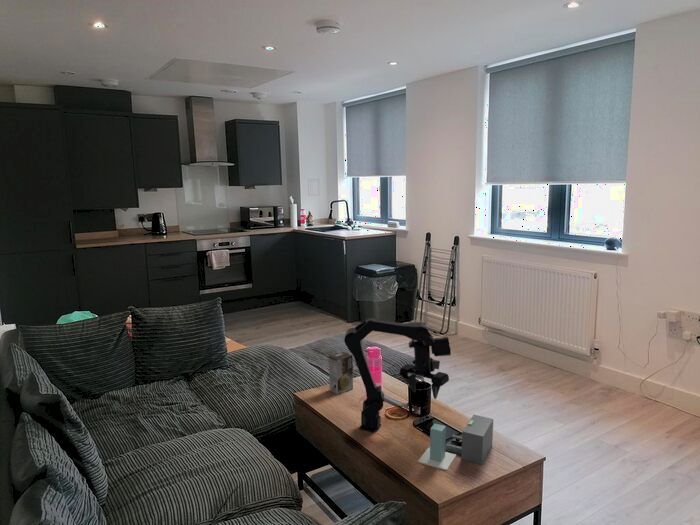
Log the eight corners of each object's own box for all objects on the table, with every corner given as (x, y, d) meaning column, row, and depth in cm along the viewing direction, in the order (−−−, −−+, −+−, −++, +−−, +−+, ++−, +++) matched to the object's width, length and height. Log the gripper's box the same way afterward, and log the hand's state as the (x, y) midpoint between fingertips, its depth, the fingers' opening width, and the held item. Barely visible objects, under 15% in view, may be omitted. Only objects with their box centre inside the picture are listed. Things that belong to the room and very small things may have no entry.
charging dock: (442, 454, 170) (443, 425, 169) (455, 436, 182) (456, 409, 181) (482, 464, 164) (483, 435, 162) (492, 445, 176) (493, 417, 174)
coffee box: (344, 384, 230) (344, 351, 227) (353, 389, 225) (353, 355, 222) (328, 390, 224) (328, 355, 221) (337, 394, 219) (337, 359, 216)
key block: (429, 459, 166) (430, 428, 165) (433, 453, 170) (434, 423, 168) (441, 462, 164) (442, 431, 163) (445, 456, 168) (445, 426, 166)
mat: (418, 462, 165) (418, 461, 165) (428, 448, 174) (428, 447, 174) (446, 470, 160) (447, 469, 160) (456, 456, 169) (456, 454, 169)
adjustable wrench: (416, 412, 203) (416, 408, 203) (404, 416, 199) (404, 412, 199) (377, 391, 223) (377, 387, 223) (366, 395, 219) (366, 391, 219)
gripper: (455, 354, 184) (457, 392, 187) (414, 345, 196) (416, 381, 199) (439, 365, 176) (441, 405, 179) (397, 354, 188) (400, 392, 191)
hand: (425, 395), depth 187 cm, fingers open, 9 cm apart
